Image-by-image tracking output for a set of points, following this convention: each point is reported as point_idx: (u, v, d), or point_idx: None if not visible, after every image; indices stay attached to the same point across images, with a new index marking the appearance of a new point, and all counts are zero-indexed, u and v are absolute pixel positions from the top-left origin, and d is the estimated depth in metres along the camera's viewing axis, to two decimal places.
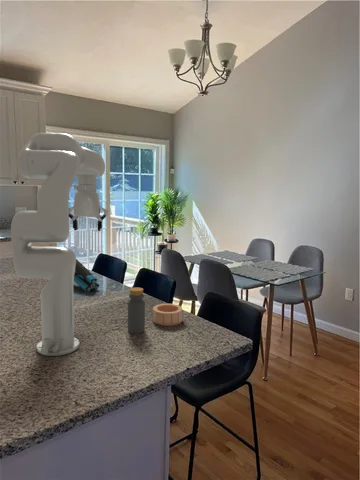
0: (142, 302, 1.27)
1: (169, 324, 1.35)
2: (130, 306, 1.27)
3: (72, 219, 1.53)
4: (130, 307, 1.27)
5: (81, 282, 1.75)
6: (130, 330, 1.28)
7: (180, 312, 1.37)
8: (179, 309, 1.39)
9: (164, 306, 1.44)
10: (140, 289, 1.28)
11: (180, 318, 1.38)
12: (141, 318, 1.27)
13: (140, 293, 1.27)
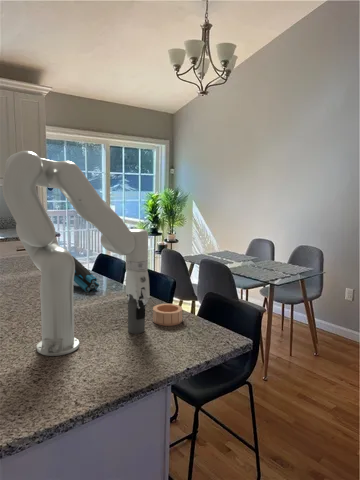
0: None
1: (169, 324, 1.35)
2: (130, 306, 1.27)
3: None
4: (130, 307, 1.27)
5: (81, 282, 1.76)
6: (130, 330, 1.28)
7: (180, 312, 1.37)
8: (179, 309, 1.39)
9: (164, 306, 1.44)
10: None
11: (180, 318, 1.38)
12: None
13: None
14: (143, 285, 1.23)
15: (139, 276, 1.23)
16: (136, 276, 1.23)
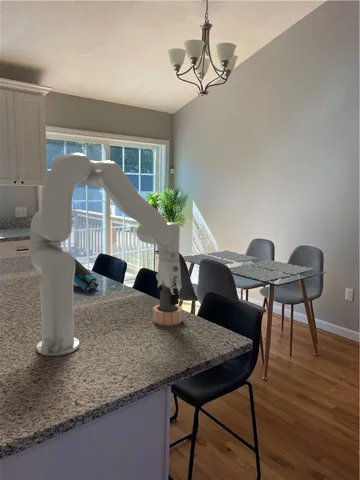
0: None
1: (169, 324, 1.35)
2: (162, 295, 1.37)
3: None
4: (162, 297, 1.37)
5: (80, 282, 1.76)
6: None
7: (180, 312, 1.37)
8: (179, 309, 1.39)
9: None
10: None
11: (180, 318, 1.38)
12: (172, 307, 1.37)
13: None
14: (175, 274, 1.34)
15: (172, 266, 1.33)
16: (169, 266, 1.33)
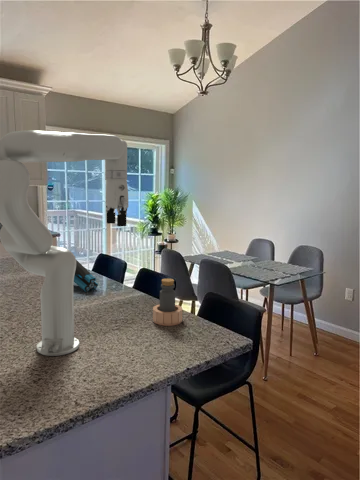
0: (173, 292, 1.37)
1: (169, 324, 1.35)
2: (162, 295, 1.37)
3: (126, 213, 1.27)
4: (162, 297, 1.37)
5: (80, 282, 1.76)
6: None
7: (180, 312, 1.37)
8: (179, 309, 1.39)
9: None
10: (171, 280, 1.38)
11: (180, 318, 1.38)
12: (172, 307, 1.37)
13: (171, 283, 1.37)
14: (122, 193, 1.27)
15: (118, 184, 1.26)
16: (115, 184, 1.26)
